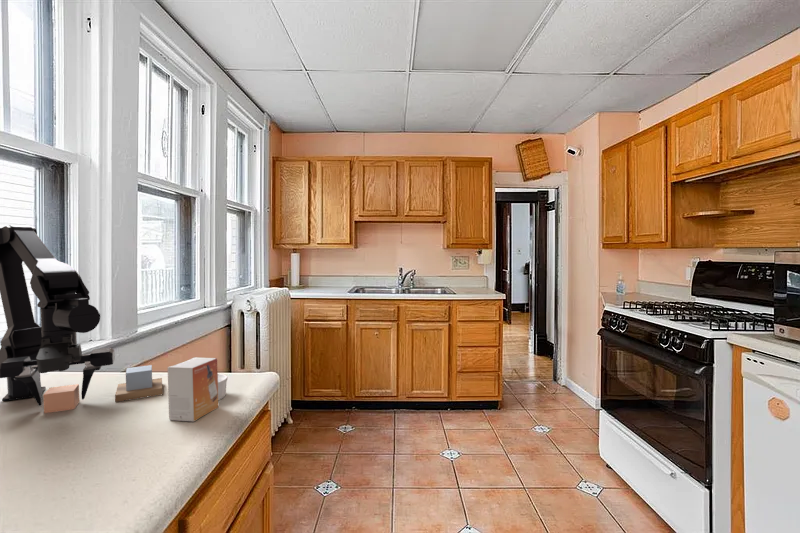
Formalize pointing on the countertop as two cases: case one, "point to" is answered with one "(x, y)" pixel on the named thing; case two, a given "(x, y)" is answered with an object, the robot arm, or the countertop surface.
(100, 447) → the countertop surface
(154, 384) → the base plate
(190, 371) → the small box
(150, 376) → the slate brick
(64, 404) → the terracotta brick
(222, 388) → the ramekin
